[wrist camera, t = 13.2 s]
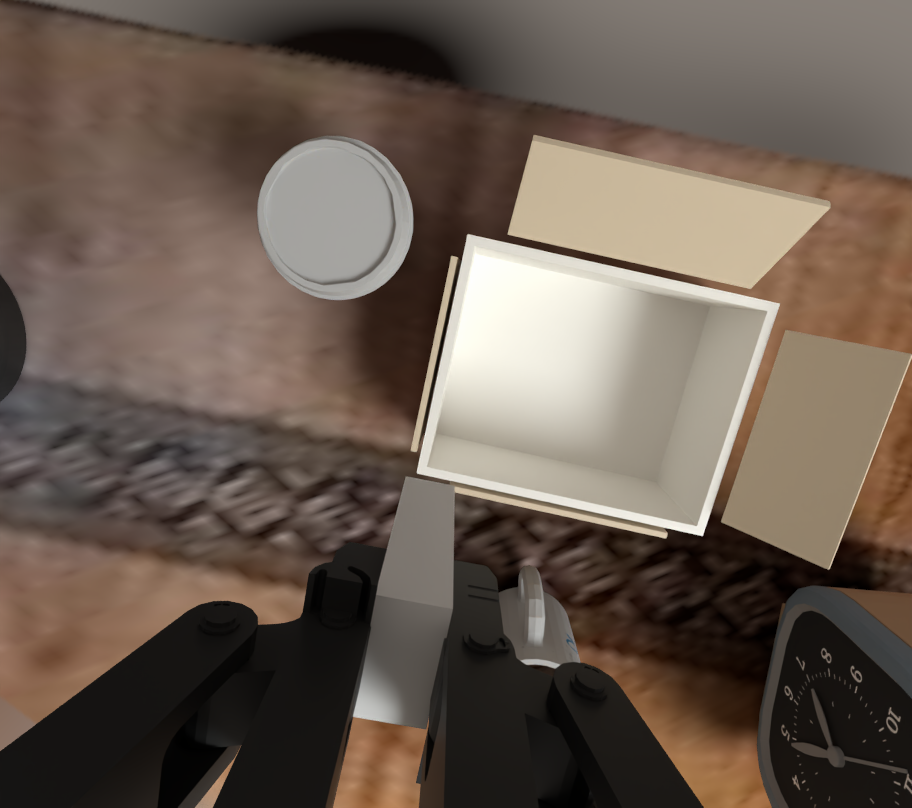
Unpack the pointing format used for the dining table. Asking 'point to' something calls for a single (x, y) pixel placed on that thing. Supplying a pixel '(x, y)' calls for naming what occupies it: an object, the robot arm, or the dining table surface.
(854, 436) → the short flap
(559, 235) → the long flap
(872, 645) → the alarm clock
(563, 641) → the mug
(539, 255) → the carton
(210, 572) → the dining table surface
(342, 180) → the disposable coffee cup
